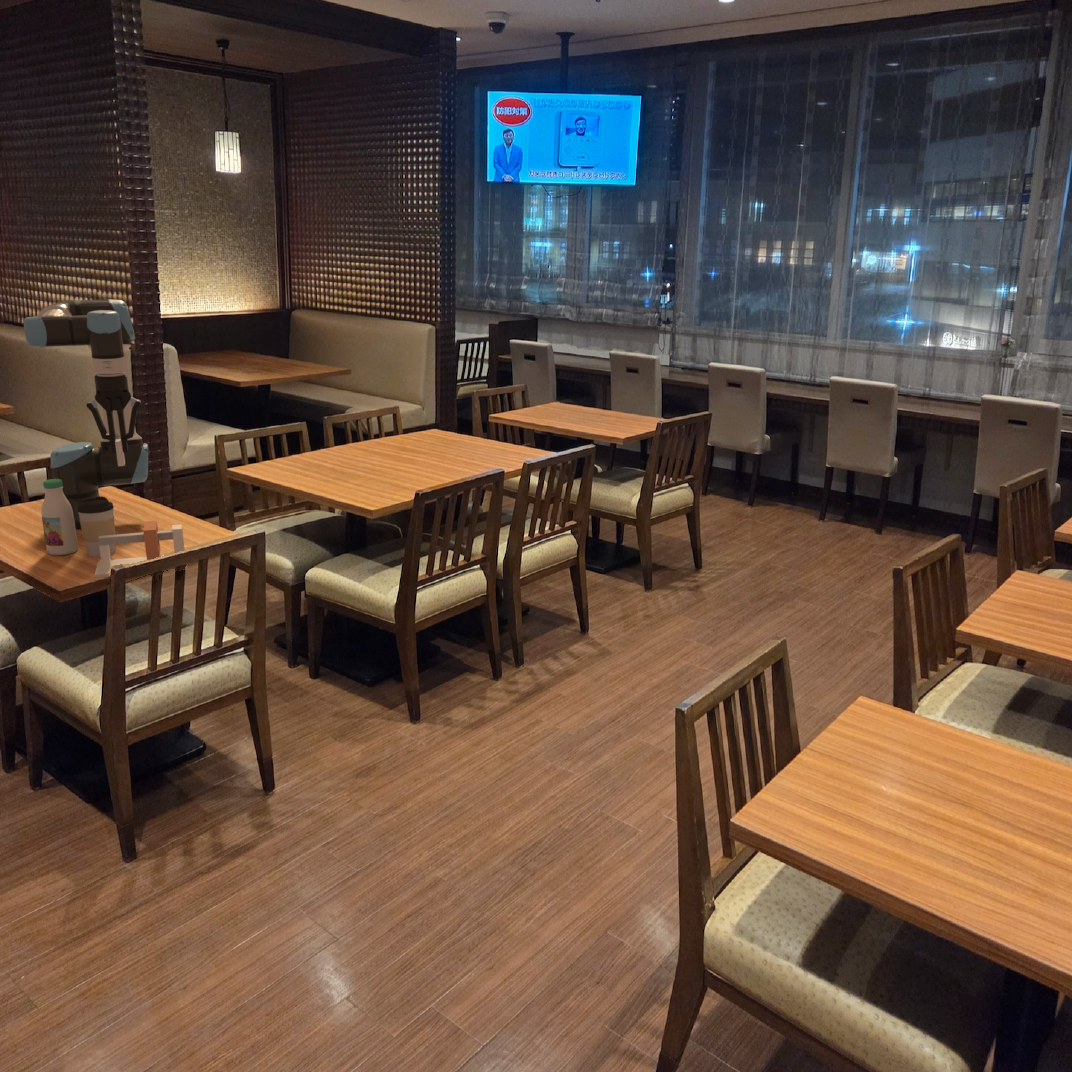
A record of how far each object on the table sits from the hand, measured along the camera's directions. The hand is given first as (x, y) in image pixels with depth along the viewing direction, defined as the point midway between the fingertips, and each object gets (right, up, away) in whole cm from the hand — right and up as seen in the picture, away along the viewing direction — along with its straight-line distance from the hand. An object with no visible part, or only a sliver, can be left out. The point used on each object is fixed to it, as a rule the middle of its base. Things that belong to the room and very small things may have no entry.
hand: (121, 464), depth 248 cm
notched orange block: (+8, -20, +1) cm, 21 cm away
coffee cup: (-11, -23, +12) cm, 29 cm away
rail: (+4, -27, +2) cm, 27 cm away
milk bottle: (-22, -23, +13) cm, 34 cm away
